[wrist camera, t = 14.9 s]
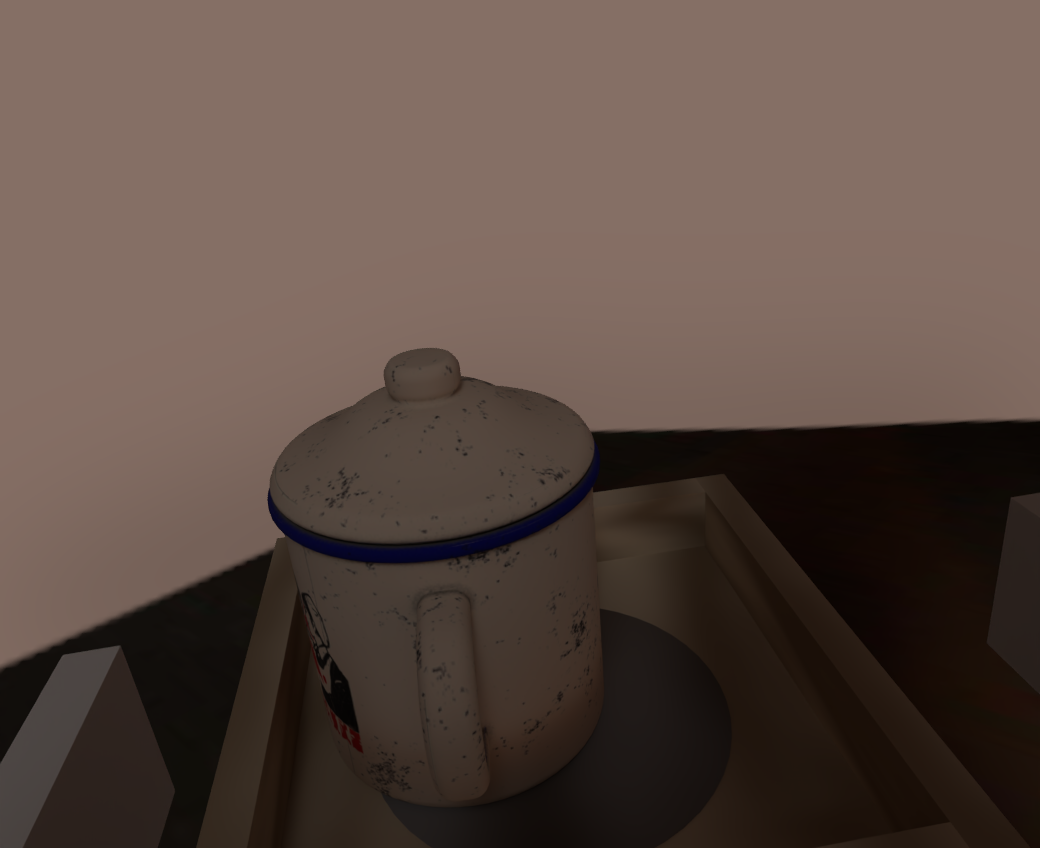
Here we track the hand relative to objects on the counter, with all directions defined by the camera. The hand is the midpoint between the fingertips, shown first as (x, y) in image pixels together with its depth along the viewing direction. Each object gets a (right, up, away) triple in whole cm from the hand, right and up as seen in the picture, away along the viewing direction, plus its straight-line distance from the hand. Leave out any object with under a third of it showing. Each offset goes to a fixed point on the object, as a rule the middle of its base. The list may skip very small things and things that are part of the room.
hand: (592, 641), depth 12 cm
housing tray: (0, -7, +14) cm, 15 cm away
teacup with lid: (-3, -6, +13) cm, 14 cm away
